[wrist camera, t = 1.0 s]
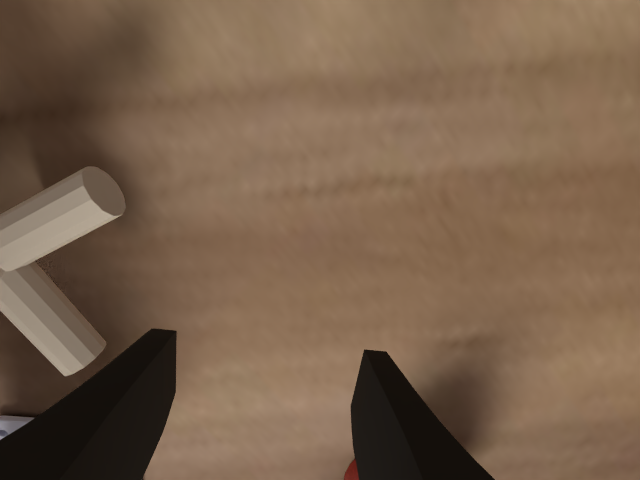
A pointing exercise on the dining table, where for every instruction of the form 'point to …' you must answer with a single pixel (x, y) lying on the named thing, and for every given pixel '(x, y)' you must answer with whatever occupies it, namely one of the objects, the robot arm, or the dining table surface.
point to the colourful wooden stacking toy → (351, 472)
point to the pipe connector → (41, 239)
